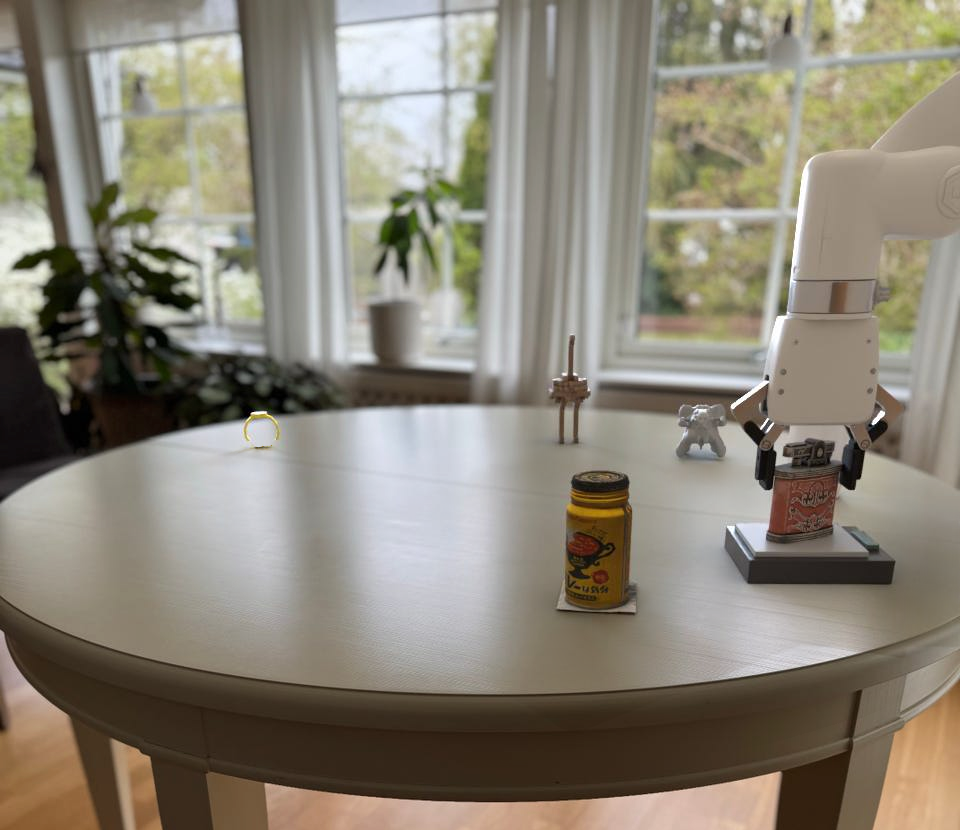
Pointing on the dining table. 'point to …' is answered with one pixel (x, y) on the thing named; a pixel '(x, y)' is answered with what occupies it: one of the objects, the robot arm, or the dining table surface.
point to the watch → (260, 415)
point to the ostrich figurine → (569, 392)
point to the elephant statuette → (701, 428)
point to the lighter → (804, 493)
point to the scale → (809, 557)
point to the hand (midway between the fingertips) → (805, 486)
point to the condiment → (598, 545)
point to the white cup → (822, 433)
